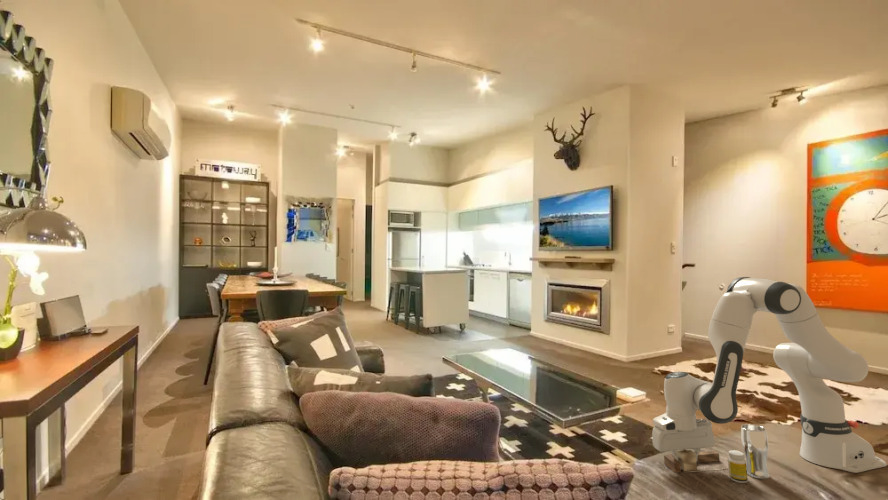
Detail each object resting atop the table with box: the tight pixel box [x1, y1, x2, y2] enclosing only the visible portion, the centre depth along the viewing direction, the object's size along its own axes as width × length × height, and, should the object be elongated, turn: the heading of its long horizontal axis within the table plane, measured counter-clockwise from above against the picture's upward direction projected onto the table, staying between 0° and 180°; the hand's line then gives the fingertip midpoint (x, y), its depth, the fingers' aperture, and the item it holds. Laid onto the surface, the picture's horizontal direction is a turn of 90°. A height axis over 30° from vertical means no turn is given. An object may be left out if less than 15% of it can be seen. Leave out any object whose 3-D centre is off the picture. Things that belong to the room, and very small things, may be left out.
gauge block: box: [676, 449, 698, 472], centre depth 138 cm, size 4×4×7 cm
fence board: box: [663, 450, 724, 473], centre depth 139 cm, size 20×8×3 cm, turn 92°
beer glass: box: [740, 423, 770, 480], centre depth 131 cm, size 7×7×15 cm
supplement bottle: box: [727, 449, 748, 484], centre depth 129 cm, size 5×5×8 cm
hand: (685, 461), depth 138 cm, fingers closed on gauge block, 4 cm apart
